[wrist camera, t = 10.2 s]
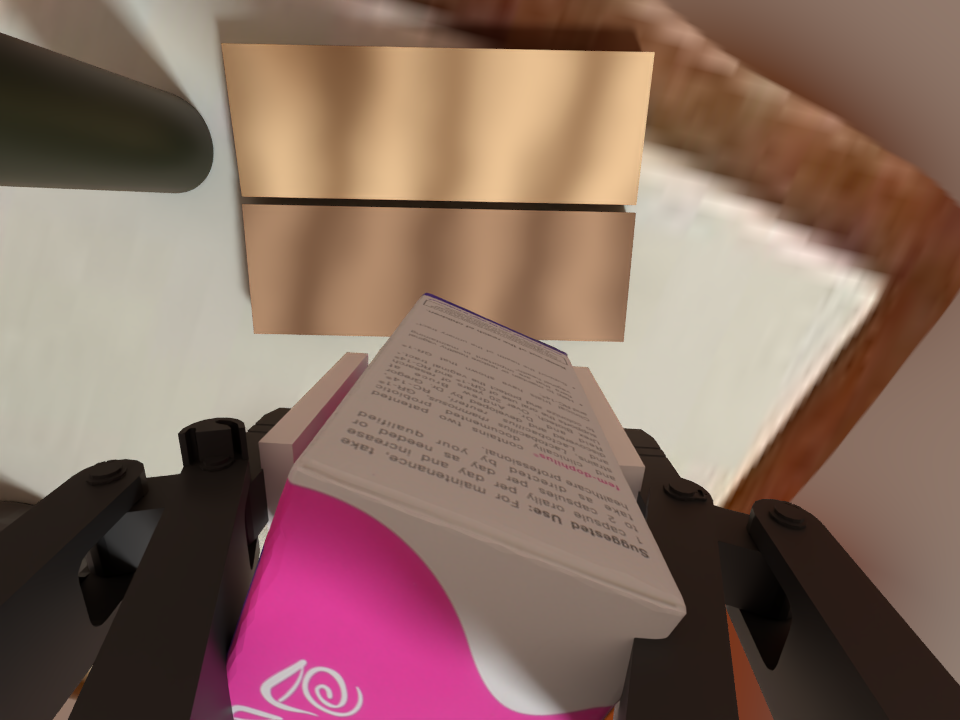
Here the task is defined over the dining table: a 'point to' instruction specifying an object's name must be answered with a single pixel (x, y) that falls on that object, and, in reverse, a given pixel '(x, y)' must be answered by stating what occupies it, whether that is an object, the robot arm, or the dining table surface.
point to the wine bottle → (93, 127)
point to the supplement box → (452, 545)
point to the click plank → (438, 268)
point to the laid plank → (438, 123)
